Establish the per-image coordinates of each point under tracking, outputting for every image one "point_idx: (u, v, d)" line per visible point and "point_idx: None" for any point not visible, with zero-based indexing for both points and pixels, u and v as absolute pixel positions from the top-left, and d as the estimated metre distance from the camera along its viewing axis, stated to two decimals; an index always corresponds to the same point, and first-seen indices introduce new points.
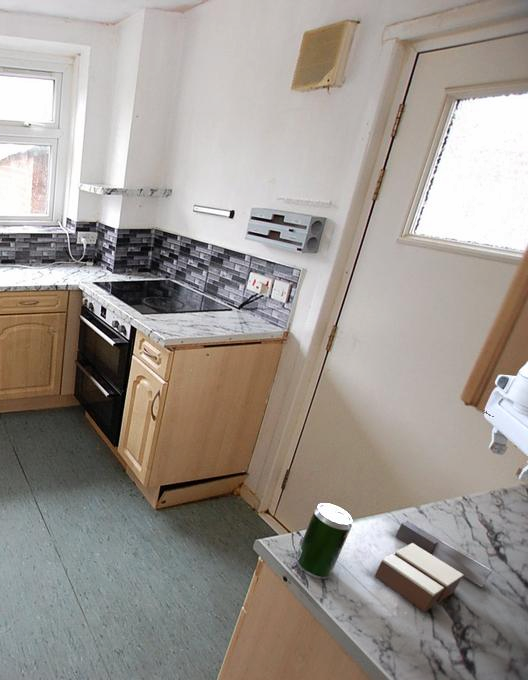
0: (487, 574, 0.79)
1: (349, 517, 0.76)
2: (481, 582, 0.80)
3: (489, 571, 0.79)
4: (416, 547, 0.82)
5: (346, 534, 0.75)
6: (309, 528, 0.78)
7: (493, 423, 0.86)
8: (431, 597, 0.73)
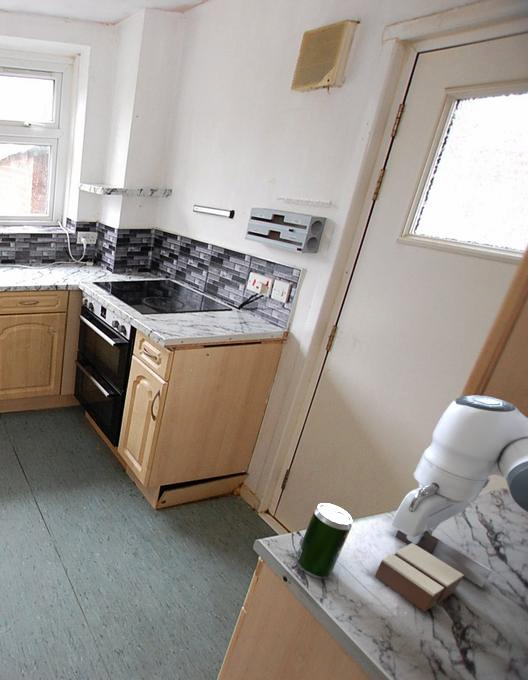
0: (487, 574, 0.79)
1: (349, 517, 0.76)
2: (481, 582, 0.80)
3: (489, 571, 0.79)
4: (416, 547, 0.82)
5: (346, 534, 0.75)
6: (309, 528, 0.78)
7: None
8: (431, 597, 0.73)
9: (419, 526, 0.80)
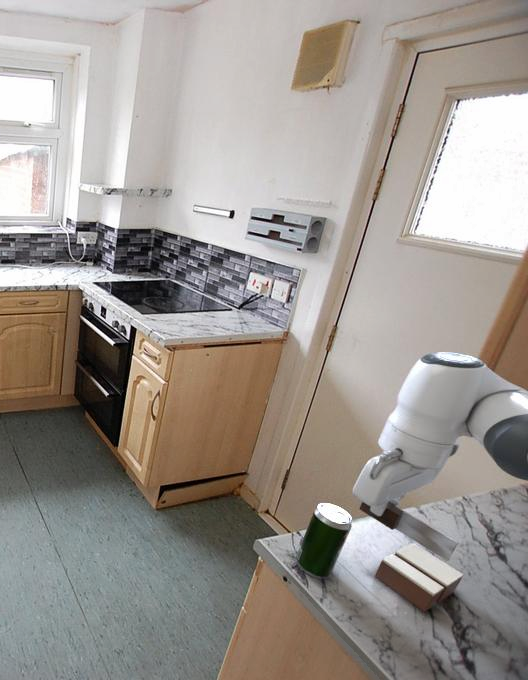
0: (453, 547, 0.73)
1: (349, 517, 0.76)
2: (447, 555, 0.73)
3: (455, 544, 0.72)
4: (416, 547, 0.82)
5: (346, 534, 0.75)
6: (309, 528, 0.78)
7: None
8: (431, 597, 0.73)
9: (380, 494, 0.73)
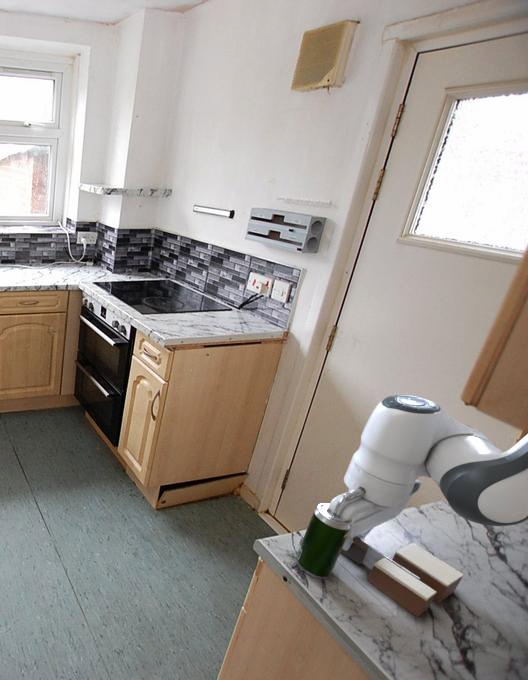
0: None
1: None
2: None
3: None
4: (416, 547, 0.82)
5: (346, 534, 0.75)
6: (309, 528, 0.78)
7: None
8: (424, 602, 0.72)
9: None
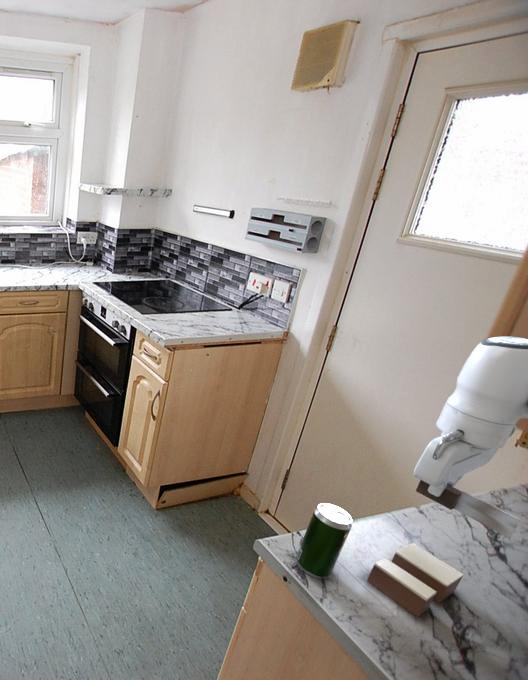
0: (515, 524, 0.75)
1: (349, 517, 0.76)
2: (509, 533, 0.76)
3: (517, 521, 0.75)
4: (416, 547, 0.82)
5: (346, 534, 0.75)
6: (309, 528, 0.78)
7: None
8: (424, 602, 0.72)
9: (443, 474, 0.76)
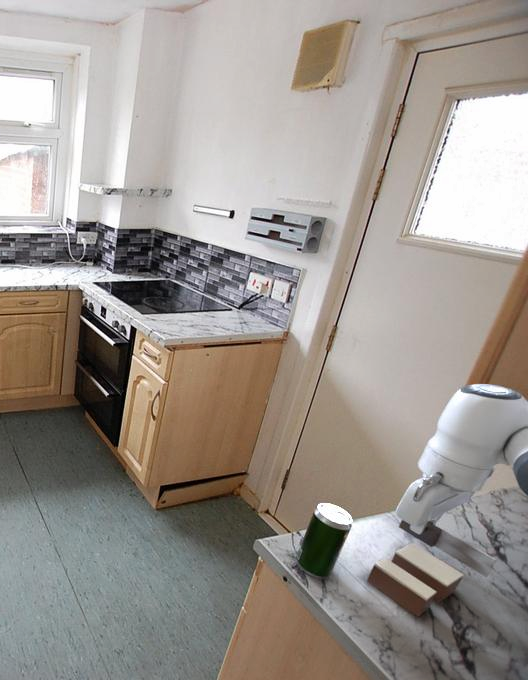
0: (492, 564, 0.78)
1: (349, 517, 0.76)
2: (485, 572, 0.79)
3: (494, 561, 0.78)
4: (416, 547, 0.82)
5: (346, 534, 0.75)
6: (309, 528, 0.78)
7: None
8: (424, 602, 0.72)
9: (423, 516, 0.79)
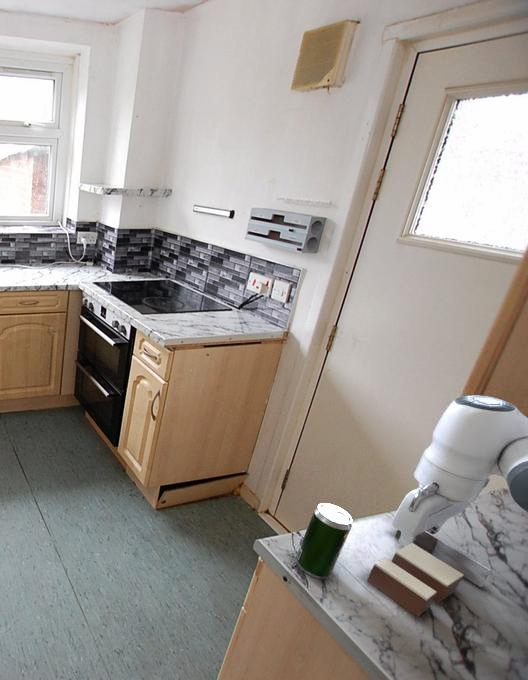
0: (486, 574, 0.79)
1: (349, 517, 0.76)
2: (480, 582, 0.80)
3: (488, 571, 0.79)
4: (416, 547, 0.82)
5: (346, 534, 0.75)
6: (309, 528, 0.78)
7: None
8: (424, 602, 0.72)
9: (419, 526, 0.80)
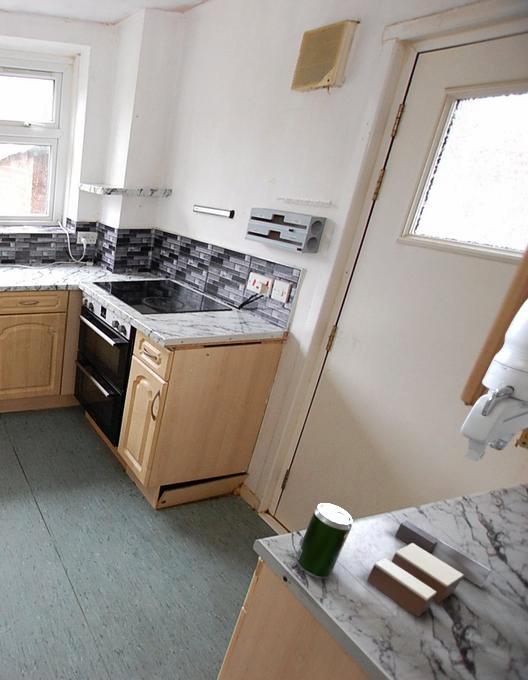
0: (486, 574, 0.79)
1: (349, 517, 0.76)
2: (480, 582, 0.80)
3: (488, 571, 0.79)
4: (416, 547, 0.82)
5: (346, 534, 0.75)
6: (309, 528, 0.78)
7: None
8: (424, 602, 0.72)
9: (493, 431, 0.73)
